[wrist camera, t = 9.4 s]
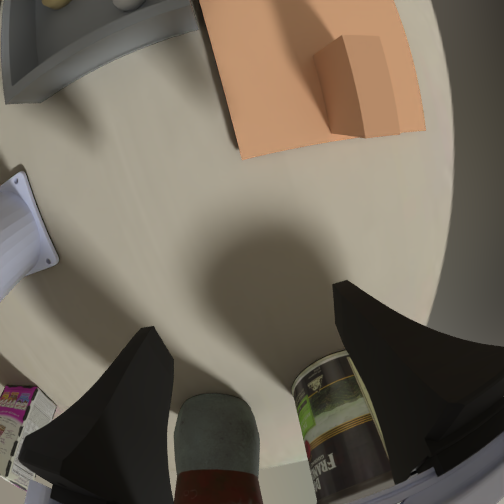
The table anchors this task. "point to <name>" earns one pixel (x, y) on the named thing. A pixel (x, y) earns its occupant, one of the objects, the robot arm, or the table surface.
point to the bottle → (216, 452)
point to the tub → (78, 39)
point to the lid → (313, 71)
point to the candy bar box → (20, 428)
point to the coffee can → (340, 431)
